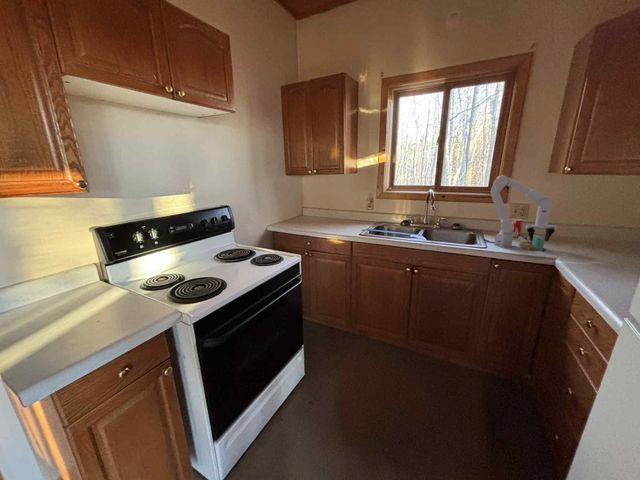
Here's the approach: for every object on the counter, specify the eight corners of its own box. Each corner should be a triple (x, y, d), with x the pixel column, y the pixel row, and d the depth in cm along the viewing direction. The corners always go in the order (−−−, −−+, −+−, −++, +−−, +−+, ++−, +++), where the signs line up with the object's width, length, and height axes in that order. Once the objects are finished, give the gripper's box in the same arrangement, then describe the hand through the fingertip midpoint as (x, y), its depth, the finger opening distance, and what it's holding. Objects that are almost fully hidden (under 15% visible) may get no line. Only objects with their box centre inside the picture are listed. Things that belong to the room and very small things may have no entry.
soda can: (518, 237, 189) (521, 220, 185) (507, 235, 194) (509, 219, 191) (522, 236, 193) (525, 219, 189) (511, 234, 198) (513, 218, 195)
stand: (525, 245, 170) (526, 241, 169) (517, 240, 181) (518, 236, 180) (536, 246, 168) (537, 241, 168) (527, 241, 180) (528, 236, 179)
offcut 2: (525, 249, 159) (526, 245, 159) (522, 247, 164) (523, 243, 163) (529, 250, 159) (530, 245, 158) (526, 248, 163) (527, 243, 162)
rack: (525, 251, 159) (525, 248, 159) (518, 246, 169) (518, 243, 168) (545, 252, 157) (546, 249, 156) (537, 247, 166) (538, 244, 165)
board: (538, 250, 158) (540, 238, 156) (531, 246, 166) (533, 235, 164) (542, 250, 157) (544, 239, 155) (535, 246, 166) (537, 235, 164)
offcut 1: (522, 247, 164) (523, 242, 163) (519, 245, 168) (520, 240, 167) (526, 247, 163) (527, 242, 162) (523, 245, 167) (524, 240, 166)
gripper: (530, 219, 155) (527, 241, 159) (561, 219, 151) (556, 242, 155) (525, 216, 162) (522, 238, 165) (554, 217, 158) (550, 239, 161)
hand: (538, 240), depth 160 cm, fingers open, 7 cm apart
